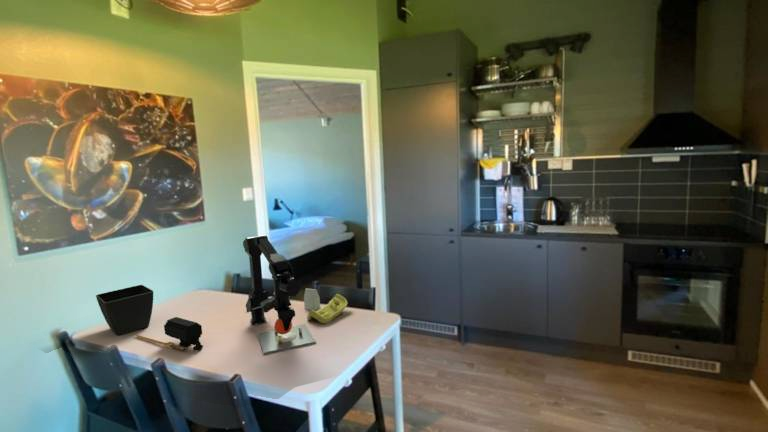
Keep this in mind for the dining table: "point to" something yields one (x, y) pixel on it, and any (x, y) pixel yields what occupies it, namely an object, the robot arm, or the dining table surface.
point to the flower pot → (127, 308)
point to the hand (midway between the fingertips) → (284, 327)
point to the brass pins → (281, 338)
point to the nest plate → (285, 339)
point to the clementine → (281, 327)
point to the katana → (161, 343)
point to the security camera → (184, 332)
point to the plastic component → (329, 310)
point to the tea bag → (311, 299)
